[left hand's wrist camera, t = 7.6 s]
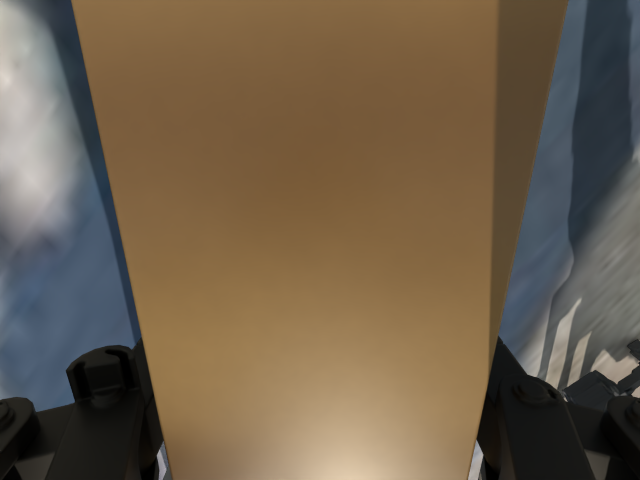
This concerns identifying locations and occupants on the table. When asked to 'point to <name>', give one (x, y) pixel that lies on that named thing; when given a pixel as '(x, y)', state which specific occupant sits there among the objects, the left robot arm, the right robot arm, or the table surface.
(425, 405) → the beam
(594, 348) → the table surface
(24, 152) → the table surface
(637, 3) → the table surface
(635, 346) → the toy
